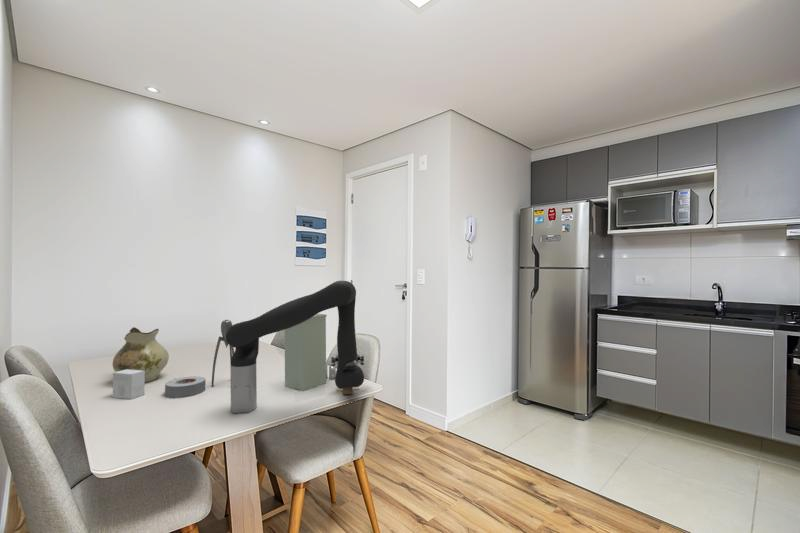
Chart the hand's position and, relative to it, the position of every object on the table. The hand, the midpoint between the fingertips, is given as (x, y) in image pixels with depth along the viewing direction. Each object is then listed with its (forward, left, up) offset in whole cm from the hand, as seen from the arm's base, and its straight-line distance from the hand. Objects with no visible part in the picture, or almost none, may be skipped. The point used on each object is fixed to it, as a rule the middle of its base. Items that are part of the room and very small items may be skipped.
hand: (347, 357), depth 171 cm
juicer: (+12, +54, -13) cm, 57 cm away
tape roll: (+5, +70, -14) cm, 71 cm away
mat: (+2, 0, -13) cm, 13 cm away
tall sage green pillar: (+6, +19, -13) cm, 24 cm away
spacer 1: (+15, +11, -13) cm, 23 cm away
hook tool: (0, -2, -13) cm, 13 cm away
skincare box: (+4, +92, -14) cm, 93 cm away
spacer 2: (+13, +7, -13) cm, 20 cm away
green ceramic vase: (+28, +99, -13) cm, 104 cm away
